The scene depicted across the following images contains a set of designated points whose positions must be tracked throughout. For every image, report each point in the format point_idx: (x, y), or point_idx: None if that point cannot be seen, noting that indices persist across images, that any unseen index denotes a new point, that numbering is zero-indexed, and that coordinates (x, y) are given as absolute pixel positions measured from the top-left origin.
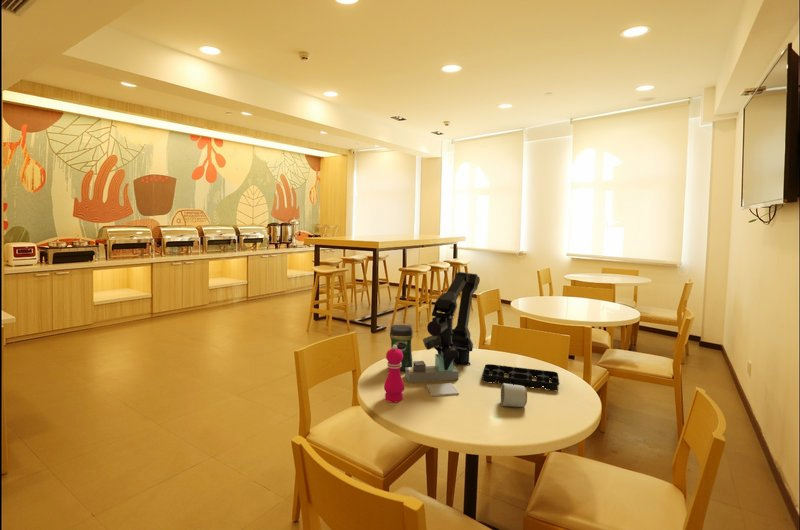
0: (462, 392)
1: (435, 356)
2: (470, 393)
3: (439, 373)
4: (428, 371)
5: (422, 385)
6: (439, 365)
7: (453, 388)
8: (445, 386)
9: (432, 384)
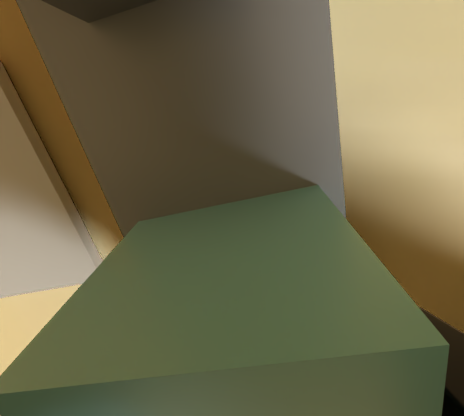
0: (10, 318)
1: (386, 284)
2: (16, 351)
3: (125, 221)
4: (113, 78)
5: (4, 15)
6: (95, 277)
7: (11, 283)
8: (23, 234)
9: (18, 127)
